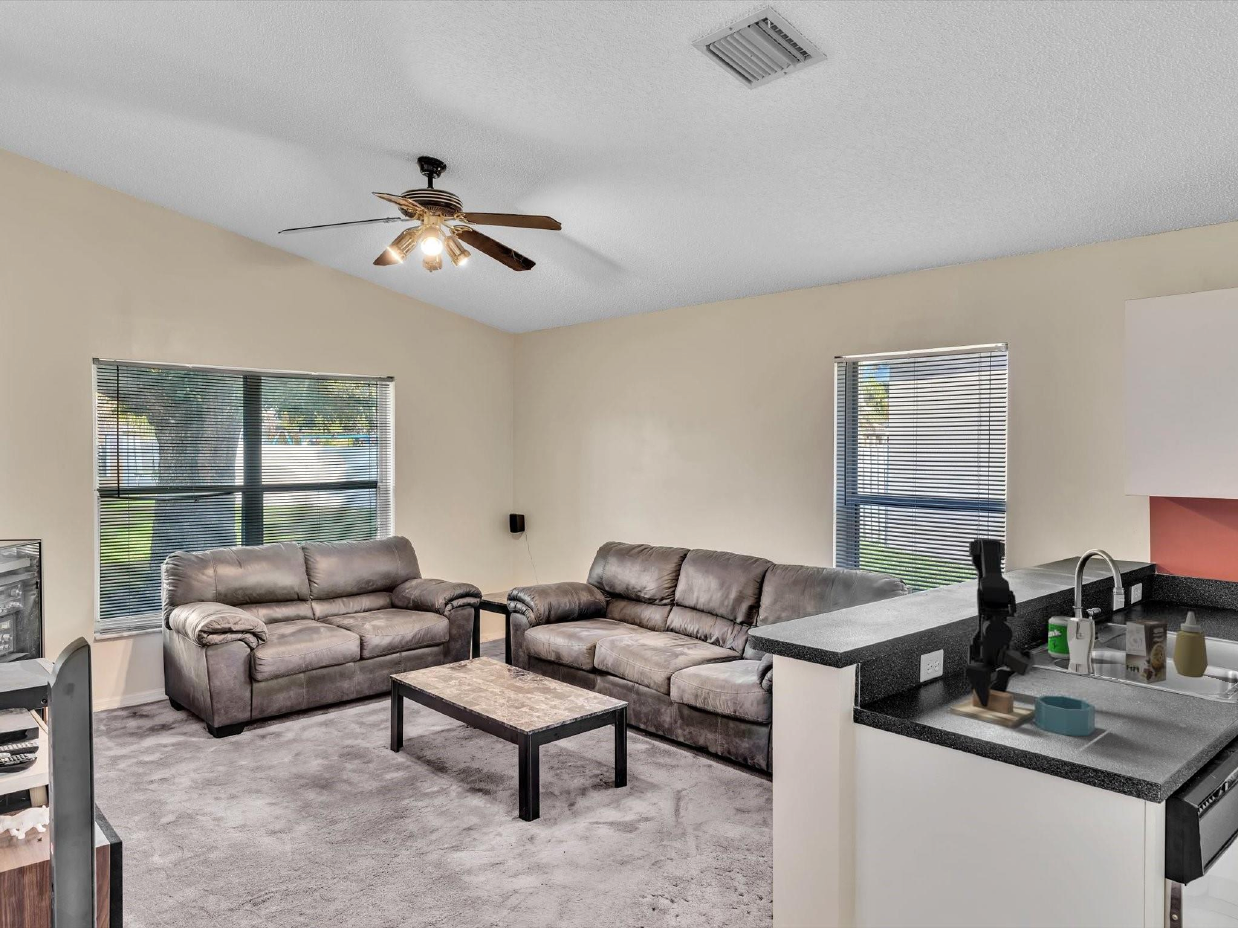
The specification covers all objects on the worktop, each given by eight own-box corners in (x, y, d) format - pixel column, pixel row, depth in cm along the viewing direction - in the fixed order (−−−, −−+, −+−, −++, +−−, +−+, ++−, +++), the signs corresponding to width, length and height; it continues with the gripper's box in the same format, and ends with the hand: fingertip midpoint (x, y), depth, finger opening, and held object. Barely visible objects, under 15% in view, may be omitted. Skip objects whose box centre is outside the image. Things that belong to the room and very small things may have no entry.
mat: (944, 713, 193) (944, 711, 193) (974, 700, 204) (974, 698, 204) (1014, 730, 181) (1014, 729, 181) (1041, 715, 192) (1041, 714, 192)
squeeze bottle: (1165, 671, 233) (1166, 609, 233) (1192, 671, 234) (1193, 609, 234) (1187, 679, 225) (1188, 614, 225) (1214, 679, 226) (1216, 614, 226)
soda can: (1073, 654, 252) (1073, 616, 252) (1078, 660, 245) (1078, 621, 245) (1046, 652, 255) (1046, 614, 254) (1050, 658, 248) (1050, 619, 247)
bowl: (1028, 728, 183) (1029, 701, 183) (1047, 717, 191) (1047, 692, 191) (1082, 741, 175) (1082, 713, 175) (1099, 729, 182) (1099, 703, 182)
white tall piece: (1098, 675, 228) (1099, 622, 228) (1071, 674, 230) (1072, 621, 229) (1089, 669, 235) (1089, 617, 235) (1062, 667, 236) (1063, 616, 236)
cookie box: (1148, 684, 220) (1149, 625, 220) (1124, 678, 225) (1125, 620, 225) (1167, 680, 224) (1168, 622, 224) (1143, 674, 230) (1144, 618, 229)
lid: (950, 711, 193) (950, 691, 193) (976, 700, 202) (976, 680, 202) (1011, 726, 183) (1011, 704, 183) (1035, 713, 192) (1035, 693, 192)
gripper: (1013, 649, 180) (1011, 719, 180) (1045, 637, 193) (1044, 702, 193) (963, 640, 188) (962, 707, 188) (997, 629, 201) (996, 692, 201)
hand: (993, 702), depth 193 cm, fingers open, 9 cm apart
